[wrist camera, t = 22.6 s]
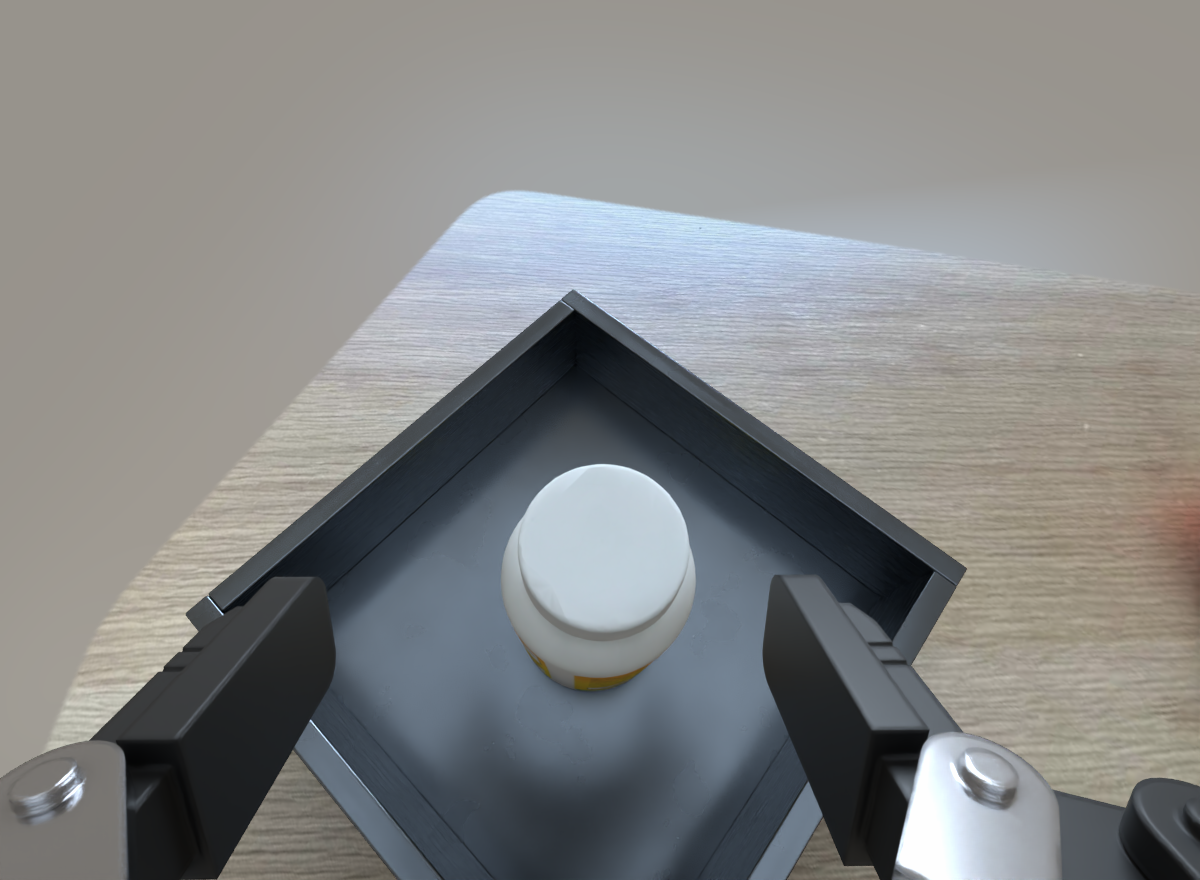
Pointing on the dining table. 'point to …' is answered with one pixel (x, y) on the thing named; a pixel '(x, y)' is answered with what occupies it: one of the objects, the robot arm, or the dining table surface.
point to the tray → (506, 671)
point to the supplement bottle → (598, 576)
